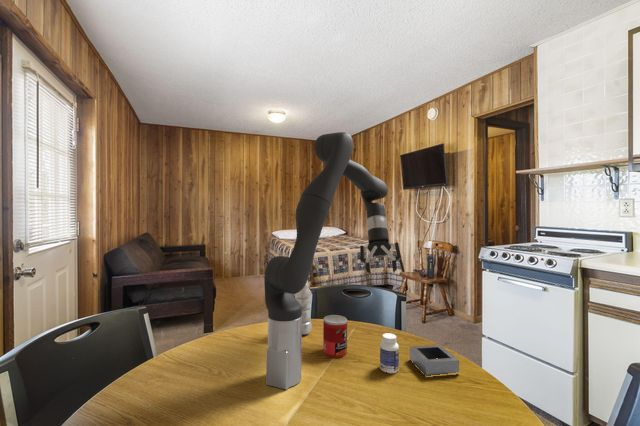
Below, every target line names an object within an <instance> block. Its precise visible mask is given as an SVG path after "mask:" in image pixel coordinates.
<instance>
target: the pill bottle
mask: <svg viewBox="0 0 640 426" xmlns="http://www.w3.org/2000/svg"><path fill="white" fill-rule="evenodd" d="M381 339H382V341H381V342H380V344H379V368H380V370H381V371H382V372H384V373H386V372H387V374H396V373H398V372H399V368H400V367H399V366H400V364H399V363H400V346H399V344H398V343H397V340H398V339H397V335H395V334H394V333H390V332H389V333H387V332H385V333H383V334H382V338H381ZM397 371H398V372H397Z"/></svg>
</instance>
